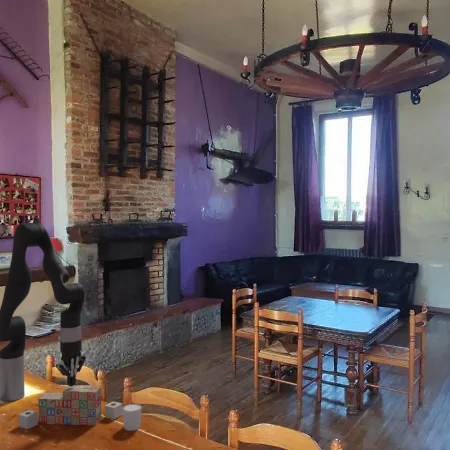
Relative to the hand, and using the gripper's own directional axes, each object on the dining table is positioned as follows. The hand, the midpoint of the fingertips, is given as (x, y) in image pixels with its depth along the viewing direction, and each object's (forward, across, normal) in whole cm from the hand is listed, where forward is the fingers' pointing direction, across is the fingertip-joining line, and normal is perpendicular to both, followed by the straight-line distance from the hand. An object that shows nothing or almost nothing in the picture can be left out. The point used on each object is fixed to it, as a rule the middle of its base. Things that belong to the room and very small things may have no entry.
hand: (71, 385), depth 172 cm
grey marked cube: (+13, +10, -11) cm, 20 cm away
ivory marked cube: (+13, -10, +11) cm, 20 cm away
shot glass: (+13, -6, +23) cm, 27 cm away
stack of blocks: (+13, 0, -1) cm, 13 cm away
